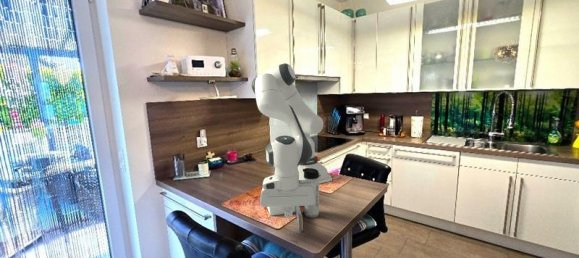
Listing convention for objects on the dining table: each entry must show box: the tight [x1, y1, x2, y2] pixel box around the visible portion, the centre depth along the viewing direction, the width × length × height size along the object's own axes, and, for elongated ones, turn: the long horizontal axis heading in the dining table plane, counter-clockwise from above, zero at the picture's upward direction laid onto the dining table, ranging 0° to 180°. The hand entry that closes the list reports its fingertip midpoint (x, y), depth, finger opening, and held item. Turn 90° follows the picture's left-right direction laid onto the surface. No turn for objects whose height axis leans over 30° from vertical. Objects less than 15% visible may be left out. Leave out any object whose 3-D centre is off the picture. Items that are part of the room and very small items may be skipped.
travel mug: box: [303, 168, 320, 219], centre depth 103 cm, size 6×7×20 cm
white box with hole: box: [266, 206, 296, 217], centre depth 113 cm, size 14×16×8 cm
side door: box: [295, 206, 304, 232], centre depth 99 cm, size 16×1×6 cm, turn 3°
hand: (288, 215), depth 92 cm, fingers closed
